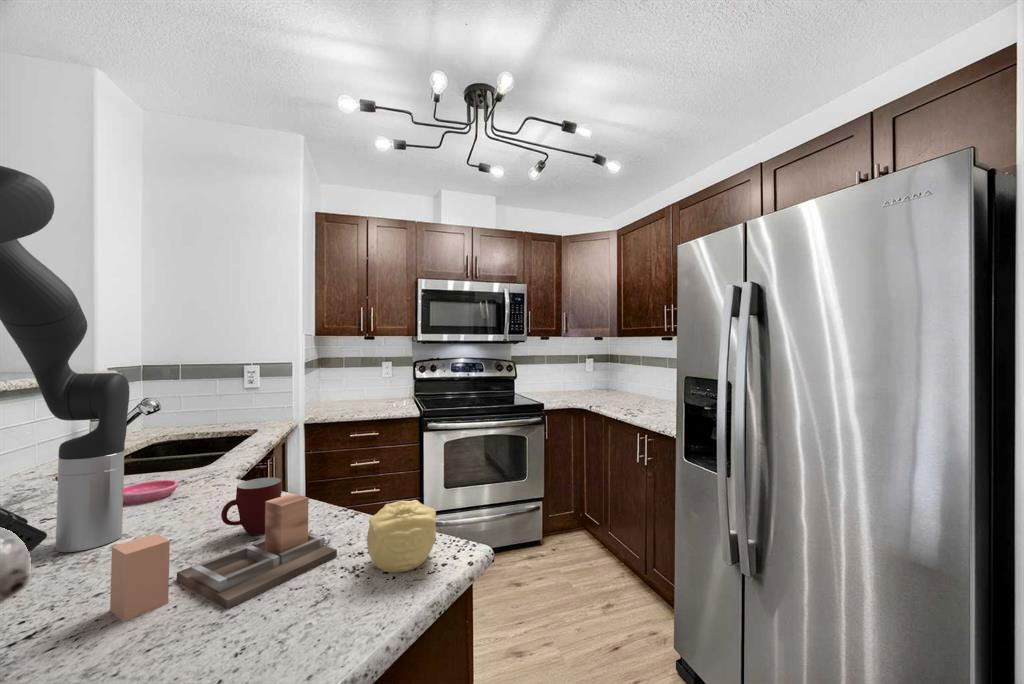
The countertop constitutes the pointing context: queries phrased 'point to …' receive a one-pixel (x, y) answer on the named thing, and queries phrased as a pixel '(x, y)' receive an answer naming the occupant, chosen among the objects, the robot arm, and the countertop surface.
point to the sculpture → (401, 535)
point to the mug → (253, 503)
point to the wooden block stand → (262, 556)
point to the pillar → (139, 576)
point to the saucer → (148, 491)
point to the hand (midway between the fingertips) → (29, 535)
